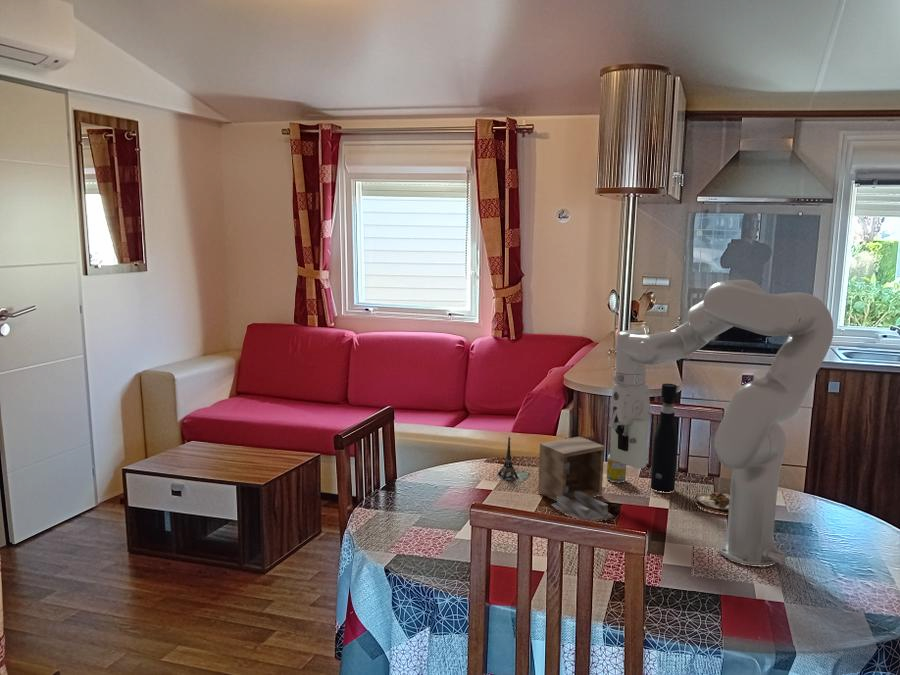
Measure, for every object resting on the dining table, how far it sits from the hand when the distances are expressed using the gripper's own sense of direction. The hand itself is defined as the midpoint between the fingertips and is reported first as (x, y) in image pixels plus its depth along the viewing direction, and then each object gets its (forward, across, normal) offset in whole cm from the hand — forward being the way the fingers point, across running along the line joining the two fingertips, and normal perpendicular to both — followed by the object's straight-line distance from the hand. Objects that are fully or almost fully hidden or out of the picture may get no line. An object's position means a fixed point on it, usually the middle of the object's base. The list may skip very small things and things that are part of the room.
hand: (628, 448), depth 186 cm
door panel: (+4, 0, 0) cm, 4 cm away
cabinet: (+16, -9, +8) cm, 19 cm away
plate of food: (+17, +22, -12) cm, 30 cm away
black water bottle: (+16, +18, +4) cm, 24 cm away
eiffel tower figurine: (+16, -14, +33) cm, 39 cm away
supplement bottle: (+16, +12, +16) cm, 25 cm away
